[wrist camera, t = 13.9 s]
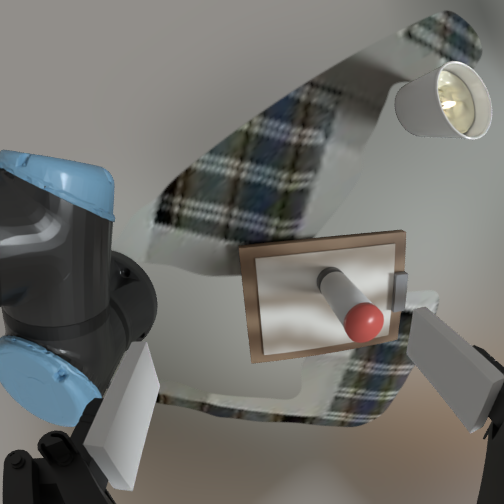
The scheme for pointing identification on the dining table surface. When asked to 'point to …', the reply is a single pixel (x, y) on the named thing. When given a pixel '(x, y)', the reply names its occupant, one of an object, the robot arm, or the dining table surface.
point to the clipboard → (318, 291)
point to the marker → (350, 305)
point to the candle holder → (445, 103)
